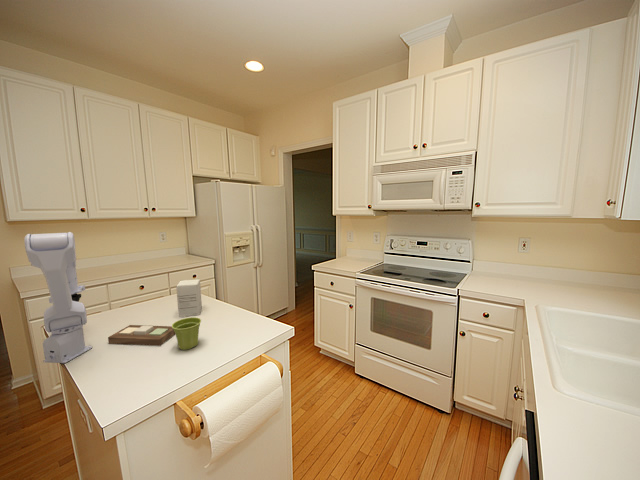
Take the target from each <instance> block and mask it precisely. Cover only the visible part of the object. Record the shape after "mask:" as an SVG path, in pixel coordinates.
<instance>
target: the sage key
mask: <svg viewBox="0 0 640 480" xmlns="http://www.w3.org/2000/svg"><path fill="white" fill-rule="evenodd" d="M167 331H168V329H161V328H157V329H156V330H154V331H153V332H151V333H150V334H149V335H153V336H161V335H162V334H164V333H165V332H167Z"/></svg>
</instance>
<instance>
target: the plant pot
mask: <svg viewBox="0 0 640 480" xmlns="http://www.w3.org/2000/svg"><path fill="white" fill-rule="evenodd" d="M201 322H202V319H201V318H199V317H196V316H190V317H183V318H181V319H179V320H177V321H175V322H174V323H172V324H171V326H172V328H173V329H174V332H175V338H176V340H177V345H178V348H179V349H181V350H184V351H186V350H190V349H192V348H193V347H196V346H197V345H198V344H199V334H200V333H199V332H200V326H201Z"/></svg>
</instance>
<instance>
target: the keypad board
mask: <svg viewBox="0 0 640 480" xmlns="http://www.w3.org/2000/svg"><path fill="white" fill-rule="evenodd" d="M141 326H147V325H139V324H129V325H127V326H126V327H124V328H122V329H121V330H118V331H117V332H114V333H113V334H111V335H109V336H108V337H107V341H108V342H107V343H108V344H109V345H131V346H133V345H134V346H153V347H154V346H155V347H157V346H159V347H161V346H162V345H164V344H165V343H166V342H168V340H170V339H171V338H172V337H174V336H176V334H175V332H174V329H173V328H172V325H171V326H169V325H168V326H167V325H152V326H153V328H154V330H156V329H157V328H161V329H168V331H167V332H165V333H164V334H162V335H161V336H153V335H149V334H150V333H151V332H153V331H154V330H152V331H151V332H149V333H148V334H146V335H134V333H132V334H130V335H127V334H119V332H121V331H123V330H125V329H126V328H128V327H133V328H140V327H141Z"/></svg>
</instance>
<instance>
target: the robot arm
mask: <svg viewBox="0 0 640 480" xmlns="http://www.w3.org/2000/svg"><path fill="white" fill-rule="evenodd" d="M23 240H24V241H23V242H24V249H25V252H26V256H27V259H28V262H29V263H30V265H31V266H32V267H34V268H37V269H39V270H41V272H42V274H43V276H44V278H45V281H46V285H47V289H48V291H49V296H50V297H48V302H49V304H52V305H50V306H49V307H47V308H46V309H44V312H43V322H44V324H43V325H44V330H45V331H46V332H47V333H51V335H49V336H47V338H45V339H44V340H43V342H42V349H43V356H44V360H43V361H42V363H53V364H66V363H68V362H70V361H72V360H73V359H76V358H77V357H78V356H81V355H82V354H84V353H86V352H89V350H91V349H93V346H91V345H86V344H85V336H84V335H85V334H84V326H85V325H86V324H87V323H88V315H87V309H86V307H85V304H84V303H83V302H82V301H80V299H81V298H82V292H83V291H86V285H85V284H84V285H83V284H82V285H79V283H78V282H79V281H78V277H77V275H78V274H77V268H76V267H77V262H76V261H77V254H76V239H75V235H74V233H73V232H71V231H68V232H53V233H52V232H51V233H48V232H47V233H33V234H32V233H27V234H26V235H25V236H24V239H23Z"/></svg>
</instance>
